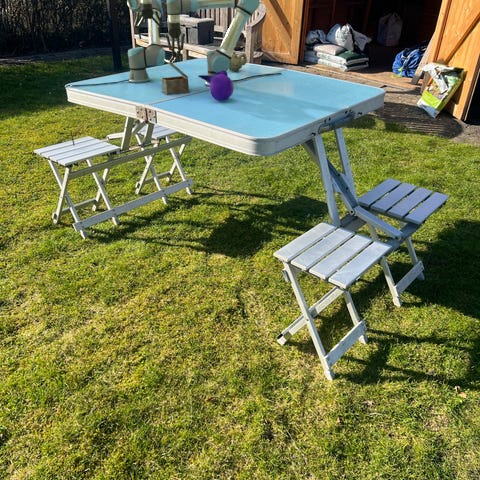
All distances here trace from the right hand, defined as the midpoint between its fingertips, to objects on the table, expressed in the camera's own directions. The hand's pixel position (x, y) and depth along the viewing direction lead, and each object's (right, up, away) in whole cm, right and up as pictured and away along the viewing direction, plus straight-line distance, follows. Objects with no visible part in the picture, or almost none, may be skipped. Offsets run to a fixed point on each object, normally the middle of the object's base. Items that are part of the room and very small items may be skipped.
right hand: (177, 61), depth 296 cm
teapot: (+38, +20, +71) cm, 83 cm away
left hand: (-20, +21, +11) cm, 31 cm away
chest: (-2, -17, +9) cm, 19 cm away
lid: (-1, -4, +2) cm, 5 cm away
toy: (+28, -28, -11) cm, 41 cm away
